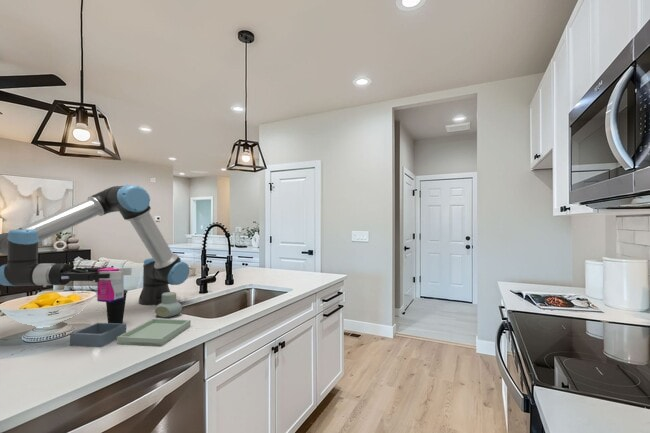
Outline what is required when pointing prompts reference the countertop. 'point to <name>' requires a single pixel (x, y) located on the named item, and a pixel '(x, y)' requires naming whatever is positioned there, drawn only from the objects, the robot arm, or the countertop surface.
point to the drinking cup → (116, 310)
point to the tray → (154, 332)
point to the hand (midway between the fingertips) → (126, 273)
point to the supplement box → (110, 286)
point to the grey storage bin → (97, 334)
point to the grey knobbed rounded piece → (168, 305)
